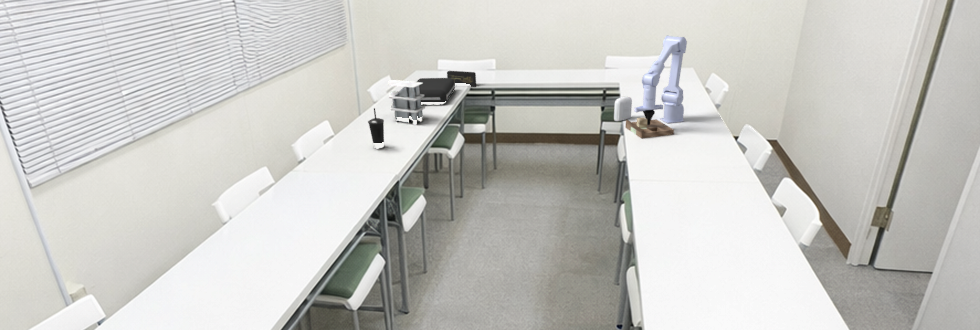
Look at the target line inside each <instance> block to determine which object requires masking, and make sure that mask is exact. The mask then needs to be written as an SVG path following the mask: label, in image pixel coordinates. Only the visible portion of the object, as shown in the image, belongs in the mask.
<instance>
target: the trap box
mask: <svg viewBox="0 0 980 330" xmlns="http://www.w3.org/2000/svg"><path fill="white" fill-rule="evenodd" d="M625 129H627V130H628V131H630V132H632V133H633V134H634V135H636V136H637V137H638V138H640V139H648V138H656V137H665V136H673V135H675V129H673V128H671V127H670V126H668V125H667V124H665V123H663V122H661V121H660V120H658V119H651V121H650V125H647V127H646V128H639V127H638V126H637V121H630V120H629V119H625Z"/></svg>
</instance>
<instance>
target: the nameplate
mask: <svg viewBox="0 0 980 330" xmlns="http://www.w3.org/2000/svg"><path fill="white" fill-rule="evenodd" d="M446 78H452V79H453V80H454V82H455V83H466V84H470V85H471V87H470V88H475V87H476V86H477V75H476V72H475V71H463V70H462V71H460V70H448V71H447V72H446Z"/></svg>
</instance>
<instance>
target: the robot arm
mask: <svg viewBox="0 0 980 330" xmlns="http://www.w3.org/2000/svg"><path fill="white" fill-rule="evenodd" d="M687 44H688V41H687V39H686V37H685V36H673V35H666V36H665V37H664V39H663V42H662V50H661V51H660V54H659V56H658V57H657V60H655V61H654V62H653V63H652V65H651V66H650V67H649V70H648V72H646V73H644V75H642V79H641V84H642V88H643V98H642V99H643V100H642V105H640V106H637V107H636V106H635V107H634V109H633V110H634V112H635V113H639V112H642V113H643V115H644V117H645V118H646V119H647V125H650V121H651V120H652V118H653V116H654V115H655V114H656V113H655V112H656V110H663V117H661V118H660V117H659V119H660V120H661V121H663V122H664V123H666V124H674V123H683V122H685V121H684V115H685V114H684V113H685V108H684V104H683V101H684V90H683V88H681V87H680V80H681V79H680V78H681V72H682V64H683V57H684V54H685V53H686V51H687ZM671 55H672V56H671ZM670 56H671V64H670V70H669V77H668V85H667V86H665V87H664V88H663V90H662V93H661V94H660V95H661V97H660V98H661V99H660V100H661V102H662V103H663V104H656V97H657V86H658V84H659V83H660V78H661V74H662V73H663V71H664V69H665V68H666V67H665V63H666V62H667V60H668V58H669V57H670Z"/></svg>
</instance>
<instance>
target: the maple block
mask: <svg viewBox="0 0 980 330" xmlns="http://www.w3.org/2000/svg"><path fill="white" fill-rule="evenodd" d="M636 122H637V126H638V127H639V128H646V127H647V119H646V118H645V116H644V117H637V118H636Z"/></svg>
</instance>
